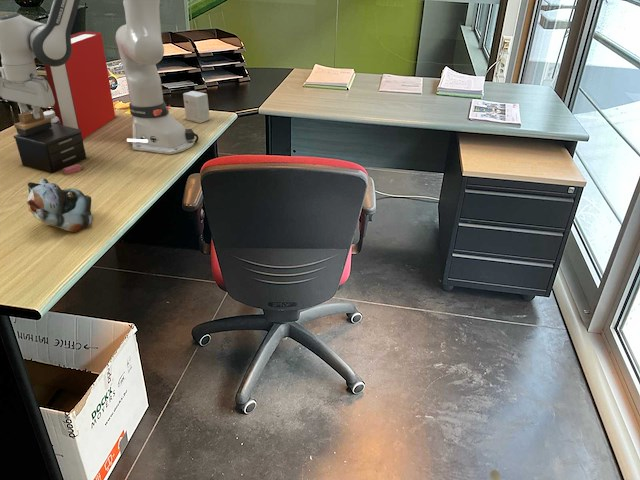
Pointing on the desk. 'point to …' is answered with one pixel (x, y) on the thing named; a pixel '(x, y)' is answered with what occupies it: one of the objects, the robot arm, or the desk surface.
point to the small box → (196, 106)
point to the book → (82, 85)
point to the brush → (32, 123)
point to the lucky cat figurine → (59, 206)
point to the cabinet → (51, 148)
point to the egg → (495, 475)
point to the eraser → (72, 169)
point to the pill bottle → (52, 117)
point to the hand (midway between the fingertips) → (32, 117)
